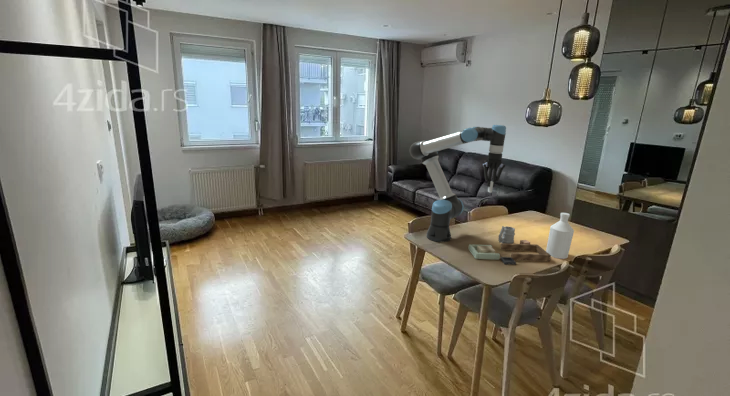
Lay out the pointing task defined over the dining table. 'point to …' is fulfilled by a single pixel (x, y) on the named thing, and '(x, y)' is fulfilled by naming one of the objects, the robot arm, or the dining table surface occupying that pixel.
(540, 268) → the dining table surface
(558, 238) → the bottle
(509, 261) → the tray
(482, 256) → the dock
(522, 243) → the terracotta cube
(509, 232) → the mug
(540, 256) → the shallow wooden box
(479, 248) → the beech block
